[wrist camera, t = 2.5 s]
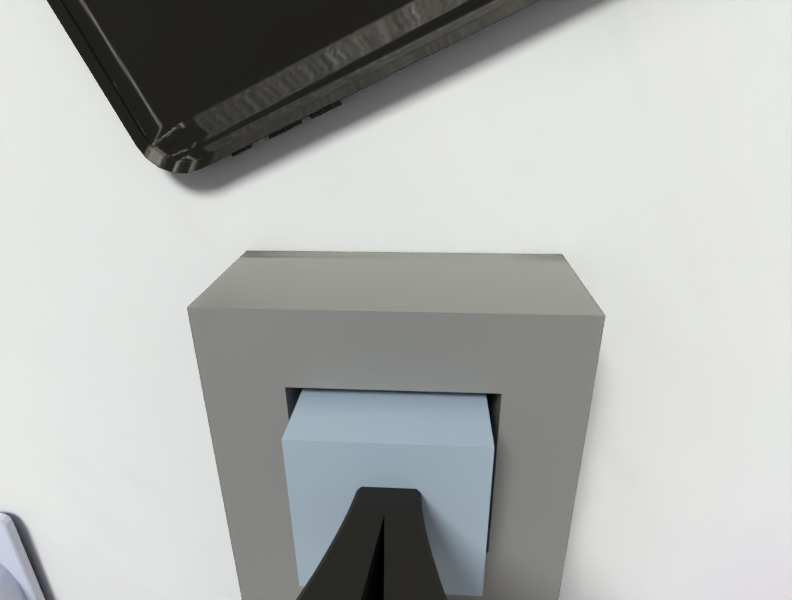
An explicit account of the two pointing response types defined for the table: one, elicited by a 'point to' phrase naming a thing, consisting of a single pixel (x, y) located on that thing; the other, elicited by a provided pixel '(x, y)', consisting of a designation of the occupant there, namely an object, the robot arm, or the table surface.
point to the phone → (251, 62)
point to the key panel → (402, 386)
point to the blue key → (393, 470)
